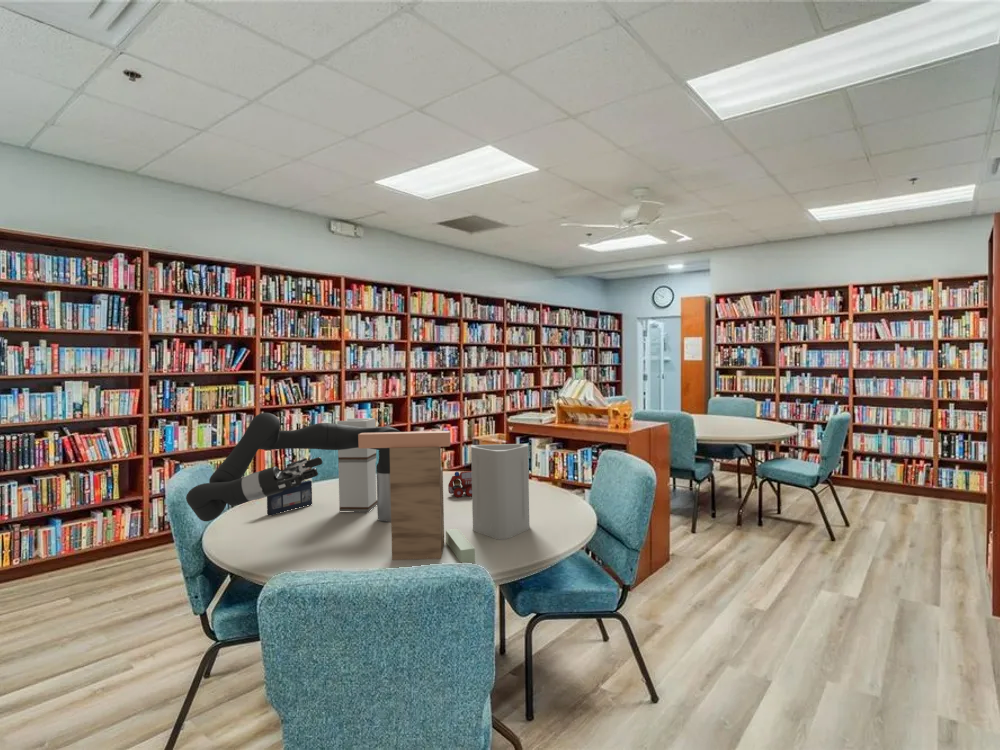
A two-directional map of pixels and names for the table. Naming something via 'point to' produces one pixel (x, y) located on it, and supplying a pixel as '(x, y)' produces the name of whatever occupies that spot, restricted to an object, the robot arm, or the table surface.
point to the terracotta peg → (404, 439)
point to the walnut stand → (416, 503)
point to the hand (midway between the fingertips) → (319, 465)
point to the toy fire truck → (465, 482)
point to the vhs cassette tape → (290, 498)
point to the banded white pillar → (357, 473)
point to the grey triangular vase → (500, 489)
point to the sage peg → (460, 545)
